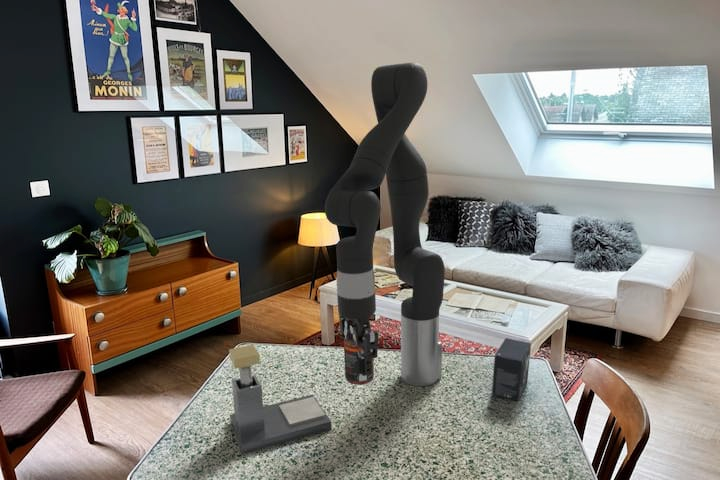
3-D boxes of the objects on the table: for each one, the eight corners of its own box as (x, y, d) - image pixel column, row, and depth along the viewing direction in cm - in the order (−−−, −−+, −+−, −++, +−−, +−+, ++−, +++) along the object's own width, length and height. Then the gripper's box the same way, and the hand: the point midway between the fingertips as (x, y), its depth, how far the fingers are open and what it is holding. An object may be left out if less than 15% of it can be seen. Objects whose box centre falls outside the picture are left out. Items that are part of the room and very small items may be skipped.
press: (312, 402, 127) (310, 355, 124) (331, 429, 117) (329, 378, 114) (230, 423, 120) (226, 373, 117) (242, 454, 109) (238, 400, 106)
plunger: (257, 396, 117) (253, 344, 114) (263, 407, 113) (259, 354, 110) (233, 401, 115) (229, 349, 112) (238, 413, 111) (234, 359, 108)
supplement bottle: (371, 387, 110) (369, 335, 106) (342, 385, 111) (340, 333, 108) (376, 372, 115) (374, 322, 112) (348, 370, 116) (346, 321, 113)
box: (519, 402, 126) (521, 360, 123) (490, 395, 129) (492, 354, 126) (529, 381, 135) (531, 342, 132) (502, 375, 138) (504, 337, 135)
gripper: (390, 298, 103) (392, 378, 107) (358, 276, 116) (361, 349, 120) (353, 306, 100) (357, 388, 104) (324, 282, 113) (329, 356, 117)
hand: (359, 366), depth 112 cm, fingers closed on supplement bottle, 6 cm apart
